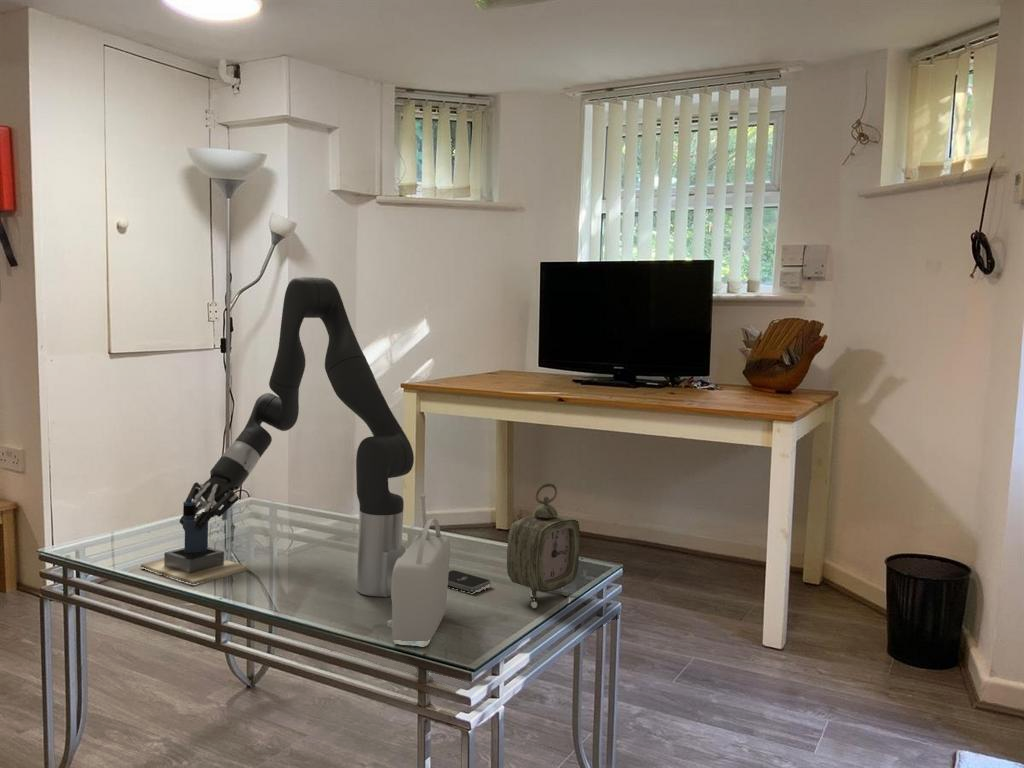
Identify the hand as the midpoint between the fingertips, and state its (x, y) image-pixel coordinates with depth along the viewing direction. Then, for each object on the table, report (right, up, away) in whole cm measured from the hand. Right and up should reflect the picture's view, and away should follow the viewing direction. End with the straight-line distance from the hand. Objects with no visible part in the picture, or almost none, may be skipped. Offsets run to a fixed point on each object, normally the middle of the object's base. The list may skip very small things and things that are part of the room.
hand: (189, 526), depth 175 cm
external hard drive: (+60, -14, 0) cm, 62 cm away
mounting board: (0, -10, +2) cm, 10 cm away
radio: (+53, -15, -26) cm, 61 cm away
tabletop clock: (+77, -15, -7) cm, 79 cm away
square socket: (0, -10, +2) cm, 10 cm away
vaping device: (+1, -6, +2) cm, 6 cm away
